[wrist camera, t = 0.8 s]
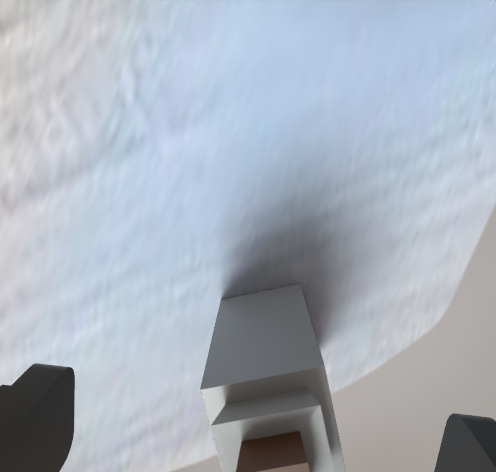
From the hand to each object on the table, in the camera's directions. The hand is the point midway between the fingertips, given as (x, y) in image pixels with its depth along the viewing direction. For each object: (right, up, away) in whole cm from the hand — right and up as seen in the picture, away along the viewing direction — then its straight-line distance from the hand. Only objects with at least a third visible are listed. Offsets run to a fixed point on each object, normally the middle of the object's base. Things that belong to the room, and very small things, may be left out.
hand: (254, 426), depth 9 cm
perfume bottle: (+2, -4, +28) cm, 28 cm away
